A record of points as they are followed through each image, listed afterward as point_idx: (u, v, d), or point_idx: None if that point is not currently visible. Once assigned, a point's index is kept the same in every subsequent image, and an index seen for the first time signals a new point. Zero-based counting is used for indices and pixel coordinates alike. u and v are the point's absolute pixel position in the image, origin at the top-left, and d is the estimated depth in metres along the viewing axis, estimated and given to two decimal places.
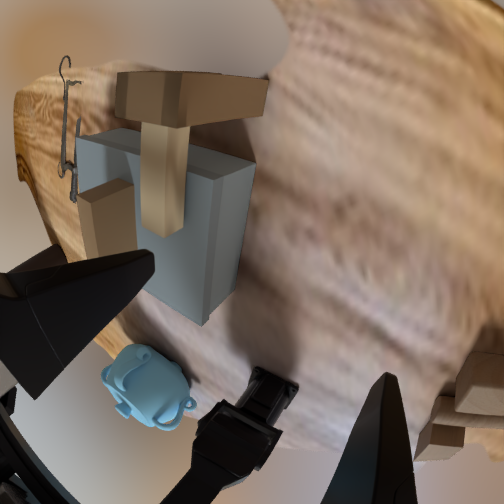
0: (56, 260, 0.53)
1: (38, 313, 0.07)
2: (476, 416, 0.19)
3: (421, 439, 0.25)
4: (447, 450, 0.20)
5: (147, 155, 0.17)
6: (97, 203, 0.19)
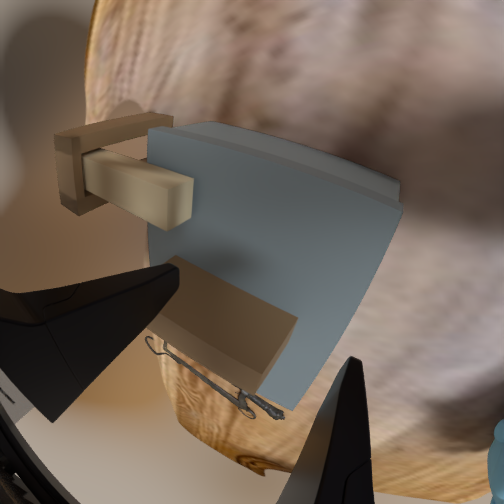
0: None
1: (58, 337, 0.06)
2: None
3: None
4: None
5: (105, 190, 0.16)
6: None
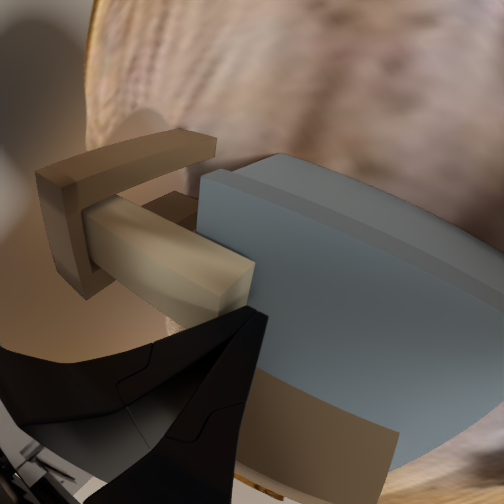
0: None
1: (137, 414, 0.05)
2: None
3: None
4: None
5: (106, 260, 0.11)
6: None
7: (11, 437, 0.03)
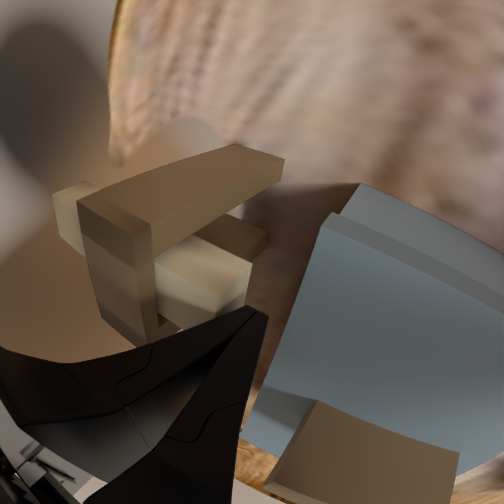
0: None
1: (137, 414, 0.05)
2: None
3: None
4: None
5: None
6: (284, 472, 0.09)
7: (11, 437, 0.03)
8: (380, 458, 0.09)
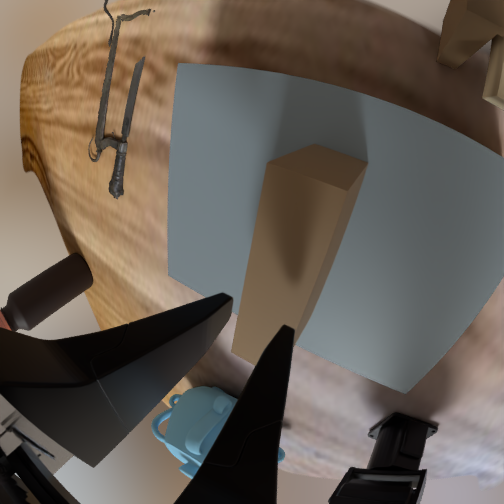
0: (78, 275, 0.41)
1: (109, 391, 0.05)
2: None
3: None
4: None
5: None
6: (349, 193, 0.08)
7: None
8: (331, 261, 0.12)
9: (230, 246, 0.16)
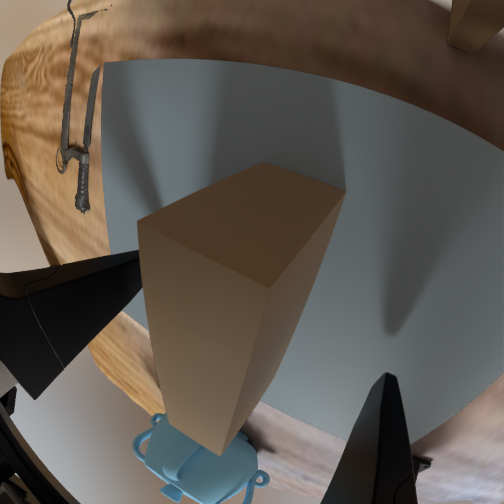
0: None
1: (38, 313, 0.07)
2: None
3: None
4: None
5: None
6: (283, 279, 0.04)
7: None
8: (286, 335, 0.08)
9: None
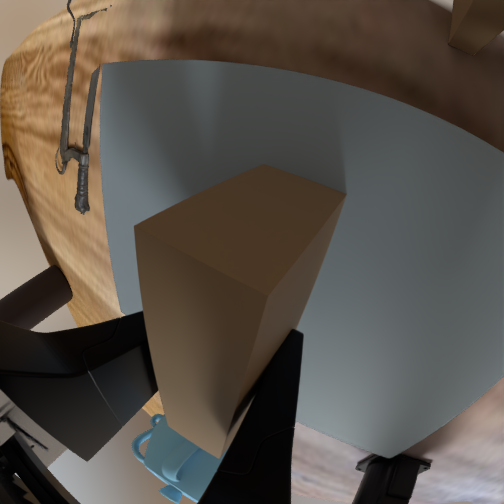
0: (56, 289, 0.38)
1: (101, 383, 0.06)
2: None
3: None
4: None
5: None
6: (282, 285, 0.04)
7: None
8: None
9: None
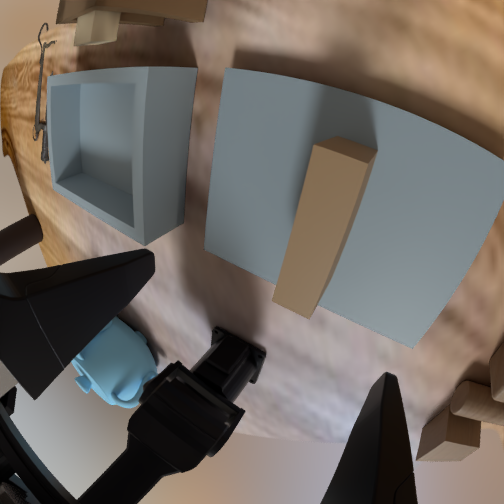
0: (31, 229, 0.48)
1: (38, 312, 0.07)
2: (503, 410, 0.14)
3: (428, 434, 0.21)
4: (462, 450, 0.16)
5: None
6: (368, 166, 0.11)
7: None
8: (352, 223, 0.15)
9: (265, 218, 0.20)
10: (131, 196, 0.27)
